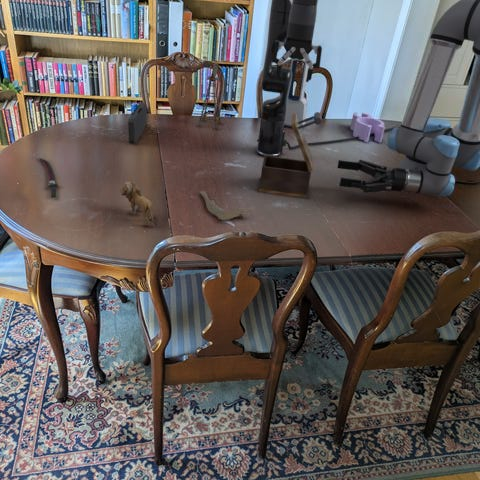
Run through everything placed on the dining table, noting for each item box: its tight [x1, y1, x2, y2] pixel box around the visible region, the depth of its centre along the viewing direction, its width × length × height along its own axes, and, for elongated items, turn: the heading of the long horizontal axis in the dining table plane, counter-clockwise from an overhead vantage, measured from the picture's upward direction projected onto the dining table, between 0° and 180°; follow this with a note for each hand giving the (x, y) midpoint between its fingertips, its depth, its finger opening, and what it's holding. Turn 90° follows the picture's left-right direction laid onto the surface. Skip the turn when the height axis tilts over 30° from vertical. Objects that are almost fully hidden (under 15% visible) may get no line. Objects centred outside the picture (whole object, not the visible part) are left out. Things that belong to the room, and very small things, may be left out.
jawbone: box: [199, 190, 251, 222], centre depth 143 cm, size 9×20×2 cm, turn 50°
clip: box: [349, 112, 386, 143], centre depth 214 cm, size 20×12×7 cm, turn 11°
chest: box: [258, 155, 312, 199], centre depth 158 cm, size 16×10×9 cm, turn 83°
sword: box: [40, 158, 59, 198], centre depth 151 cm, size 31×3×1 cm, turn 26°
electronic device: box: [284, 59, 309, 128], centre depth 209 cm, size 12×8×30 cm, turn 71°
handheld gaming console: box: [127, 102, 148, 144], centre depth 187 cm, size 23×3×10 cm, turn 178°
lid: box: [291, 111, 322, 173], centre depth 150 cm, size 17×10×9 cm
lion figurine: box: [119, 181, 159, 227], centre depth 134 cm, size 15×5×9 cm, turn 50°
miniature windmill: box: [198, 54, 222, 130], centre depth 199 cm, size 9×8×30 cm
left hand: (293, 79), depth 141 cm, fingers open, 8 cm apart
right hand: (338, 172), depth 155 cm, fingers open, 13 cm apart
